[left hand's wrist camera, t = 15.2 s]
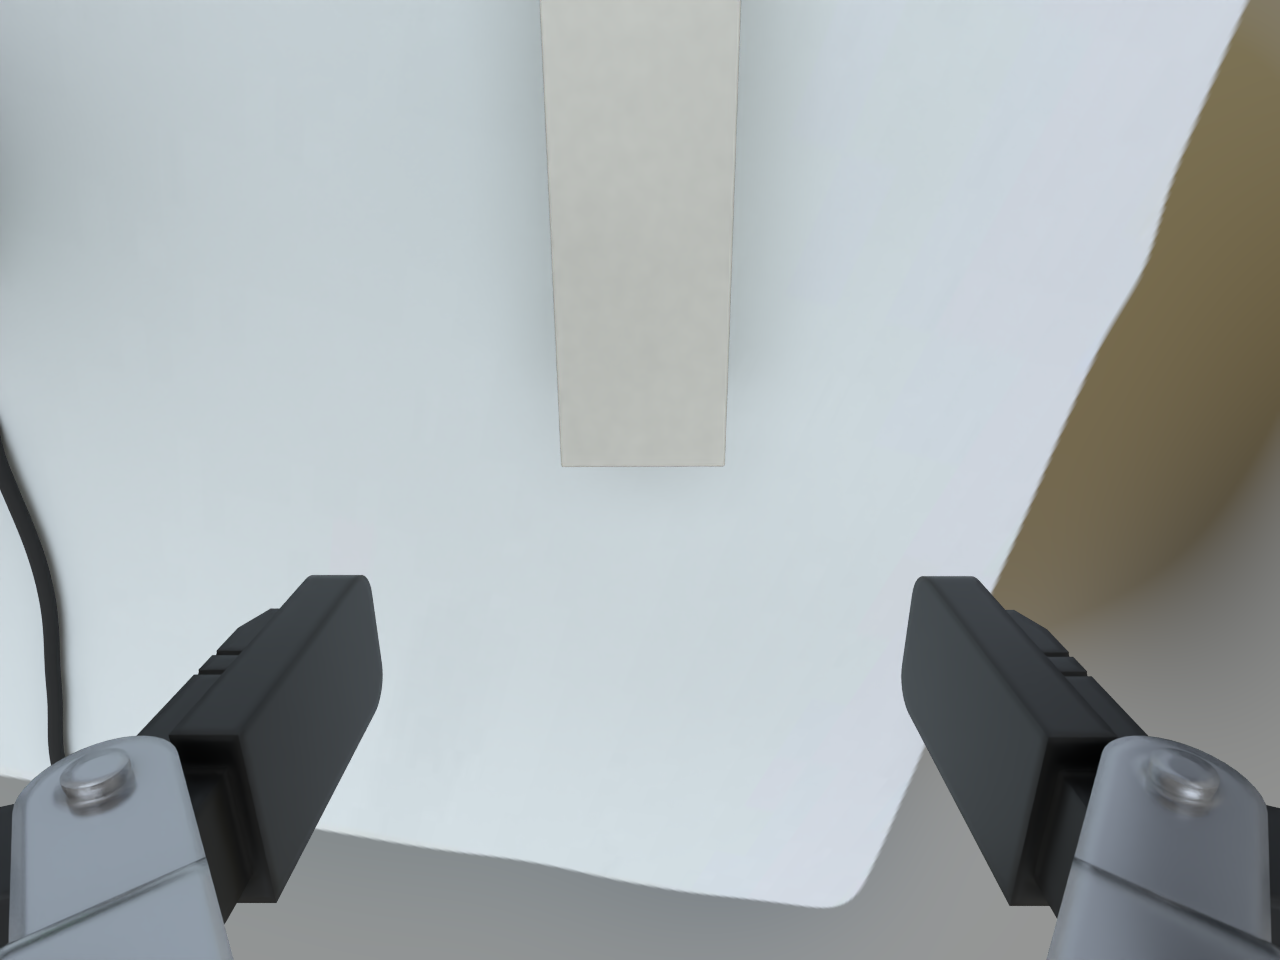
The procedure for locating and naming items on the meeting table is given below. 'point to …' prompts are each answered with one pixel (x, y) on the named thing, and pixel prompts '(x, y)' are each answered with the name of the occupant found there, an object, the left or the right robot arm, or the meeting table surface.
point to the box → (641, 225)
